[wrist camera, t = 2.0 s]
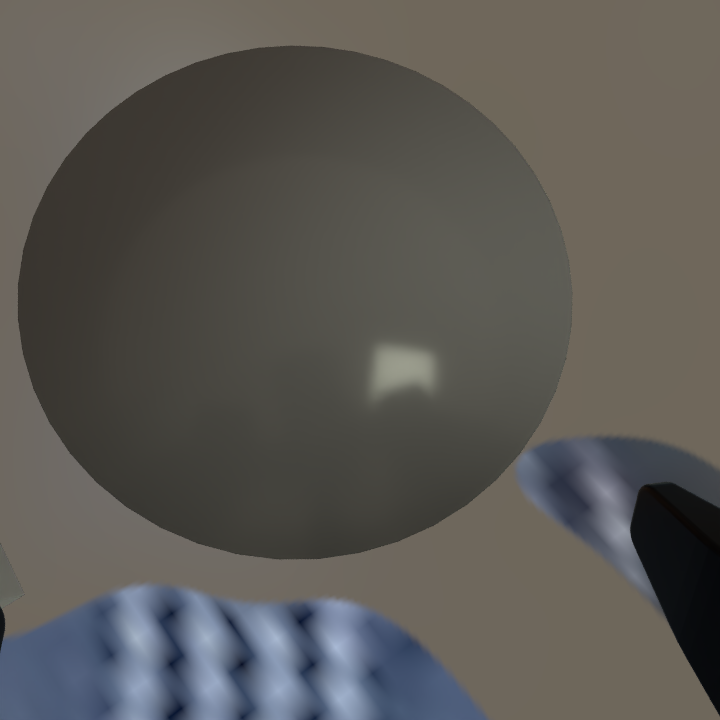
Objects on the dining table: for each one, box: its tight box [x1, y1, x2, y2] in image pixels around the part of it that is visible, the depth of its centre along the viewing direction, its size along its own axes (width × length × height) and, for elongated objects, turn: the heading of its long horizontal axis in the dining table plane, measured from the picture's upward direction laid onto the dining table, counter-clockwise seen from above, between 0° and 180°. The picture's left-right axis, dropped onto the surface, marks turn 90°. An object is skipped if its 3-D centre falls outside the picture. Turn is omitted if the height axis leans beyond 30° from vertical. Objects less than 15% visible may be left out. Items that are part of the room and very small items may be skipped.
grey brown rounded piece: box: [18, 46, 572, 559], centre depth 14 cm, size 7×7×12 cm
